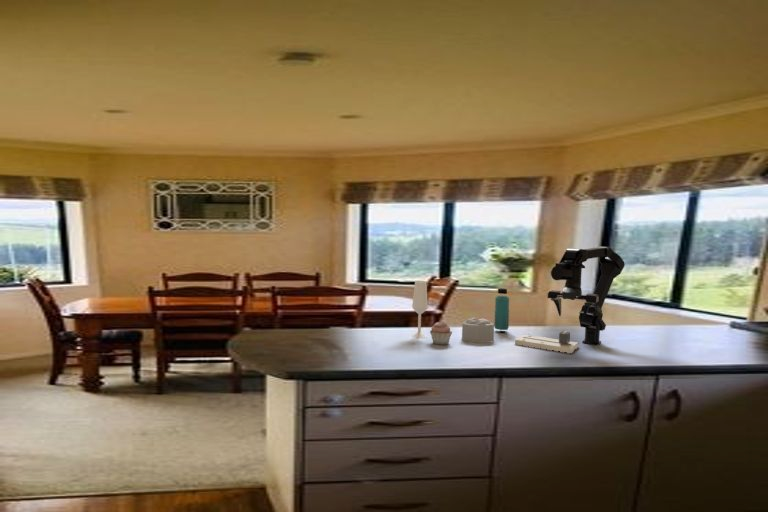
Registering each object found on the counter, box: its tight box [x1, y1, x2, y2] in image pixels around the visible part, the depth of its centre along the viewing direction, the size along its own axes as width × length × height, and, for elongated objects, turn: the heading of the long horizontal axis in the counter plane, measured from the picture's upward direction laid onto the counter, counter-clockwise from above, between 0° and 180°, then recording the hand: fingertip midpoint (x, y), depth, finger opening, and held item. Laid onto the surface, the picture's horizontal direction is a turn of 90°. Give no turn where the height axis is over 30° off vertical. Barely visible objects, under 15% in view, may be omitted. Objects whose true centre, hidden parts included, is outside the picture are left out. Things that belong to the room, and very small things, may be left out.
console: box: [514, 334, 579, 354], centre depth 193 cm, size 12×22×2 cm, turn 56°
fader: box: [558, 330, 571, 344], centre depth 189 cm, size 5×3×4 cm, turn 146°
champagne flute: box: [411, 280, 429, 339], centre depth 204 cm, size 7×7×24 cm
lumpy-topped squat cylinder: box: [461, 317, 495, 343], centre depth 201 cm, size 10×13×9 cm
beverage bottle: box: [493, 287, 510, 331], centre depth 216 cm, size 6×7×20 cm
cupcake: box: [429, 319, 453, 346], centre depth 193 cm, size 9×9×10 cm
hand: (571, 317), depth 193 cm, fingers open, 9 cm apart
